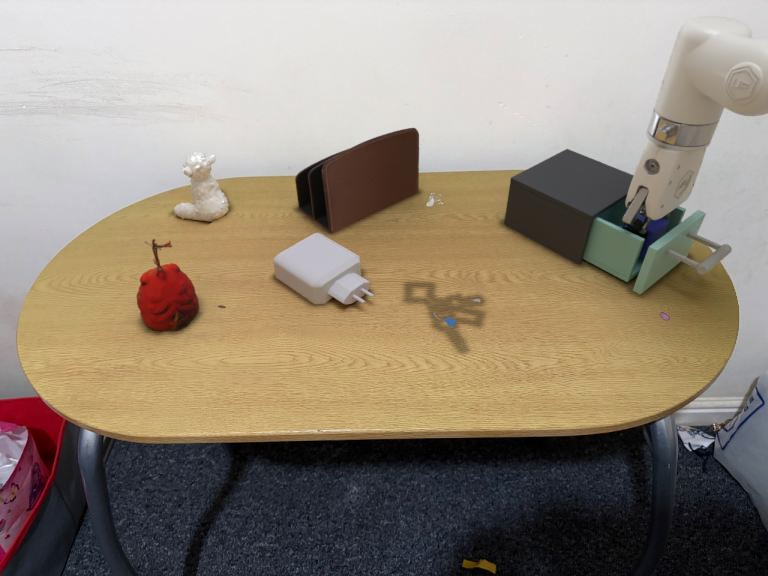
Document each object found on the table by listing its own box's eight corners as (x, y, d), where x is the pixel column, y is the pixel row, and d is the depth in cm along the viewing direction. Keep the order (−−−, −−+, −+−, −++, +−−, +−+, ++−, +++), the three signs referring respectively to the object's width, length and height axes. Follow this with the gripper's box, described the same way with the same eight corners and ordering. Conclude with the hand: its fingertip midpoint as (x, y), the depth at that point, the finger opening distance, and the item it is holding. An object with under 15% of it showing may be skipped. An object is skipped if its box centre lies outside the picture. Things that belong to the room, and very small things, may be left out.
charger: (345, 329, 73) (276, 282, 80) (391, 296, 78) (322, 254, 85) (343, 304, 69) (271, 257, 77) (391, 270, 74) (319, 229, 82)
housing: (630, 232, 88) (647, 180, 82) (577, 269, 81) (592, 216, 75) (556, 197, 97) (567, 148, 90) (503, 228, 90) (510, 177, 83)
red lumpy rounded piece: (189, 295, 79) (158, 208, 69) (212, 319, 75) (183, 230, 65) (139, 320, 75) (99, 231, 65) (161, 347, 71) (122, 257, 61)
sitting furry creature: (218, 194, 100) (202, 133, 92) (247, 209, 96) (233, 147, 88) (174, 216, 95) (153, 153, 87) (202, 233, 91) (183, 169, 83)
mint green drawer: (725, 274, 78) (748, 230, 73) (679, 316, 72) (700, 271, 67) (608, 219, 89) (621, 178, 84) (559, 251, 83) (570, 208, 78)
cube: (632, 232, 82) (641, 208, 79) (660, 245, 79) (669, 220, 76) (616, 244, 80) (624, 219, 77) (644, 257, 77) (653, 232, 74)
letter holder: (419, 196, 98) (421, 122, 89) (331, 238, 89) (323, 161, 79) (384, 176, 104) (383, 105, 95) (298, 213, 95) (287, 139, 85)
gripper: (676, 158, 61) (631, 280, 73) (742, 117, 69) (691, 233, 81) (617, 137, 66) (583, 255, 78) (685, 100, 74) (645, 213, 86)
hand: (639, 243), depth 79 cm, fingers closed on cube, 4 cm apart
